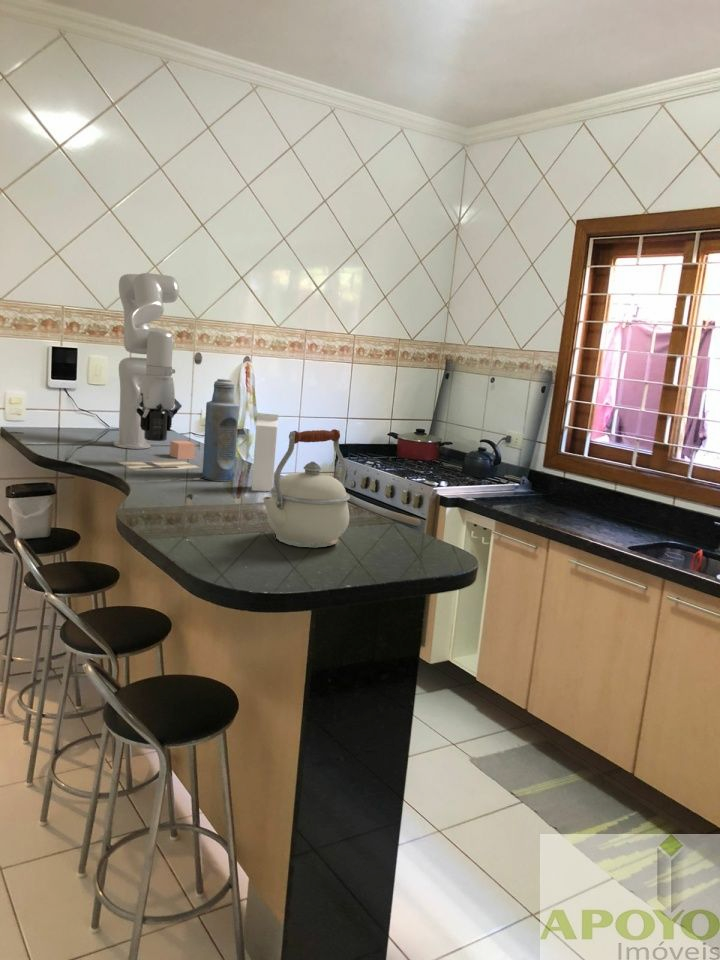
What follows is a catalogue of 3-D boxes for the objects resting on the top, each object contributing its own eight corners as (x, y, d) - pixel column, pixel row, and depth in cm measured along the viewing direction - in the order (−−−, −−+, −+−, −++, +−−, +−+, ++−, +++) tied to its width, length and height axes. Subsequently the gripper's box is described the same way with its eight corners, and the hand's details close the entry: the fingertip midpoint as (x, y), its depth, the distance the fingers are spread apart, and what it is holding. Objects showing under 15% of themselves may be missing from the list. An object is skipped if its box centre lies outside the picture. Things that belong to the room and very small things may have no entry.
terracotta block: (169, 458, 259) (170, 440, 258) (185, 457, 263) (186, 440, 262) (177, 461, 255) (178, 443, 254) (194, 461, 259) (195, 443, 257)
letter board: (116, 464, 238) (117, 461, 238) (181, 462, 252) (181, 460, 252) (135, 473, 228) (135, 470, 228) (202, 470, 242) (202, 468, 242)
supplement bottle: (169, 439, 240) (171, 401, 238) (162, 442, 234) (164, 402, 231) (148, 437, 241) (150, 399, 239) (140, 439, 234) (142, 400, 232)
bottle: (211, 482, 226) (218, 380, 220) (196, 475, 233) (202, 376, 228) (240, 481, 232) (247, 381, 226) (223, 474, 239) (230, 378, 234)
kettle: (309, 525, 186) (318, 423, 181) (368, 543, 175) (379, 434, 170) (231, 539, 167) (238, 425, 162) (291, 560, 155) (301, 438, 151)
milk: (272, 492, 220) (278, 416, 216) (251, 490, 220) (256, 414, 215) (272, 488, 226) (278, 413, 222) (252, 486, 226) (257, 411, 221)
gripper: (179, 372, 242) (176, 428, 245) (126, 369, 231) (123, 428, 234) (190, 374, 236) (187, 431, 239) (136, 371, 225) (133, 431, 228)
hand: (155, 429), depth 237 cm, fingers closed on supplement bottle, 6 cm apart
